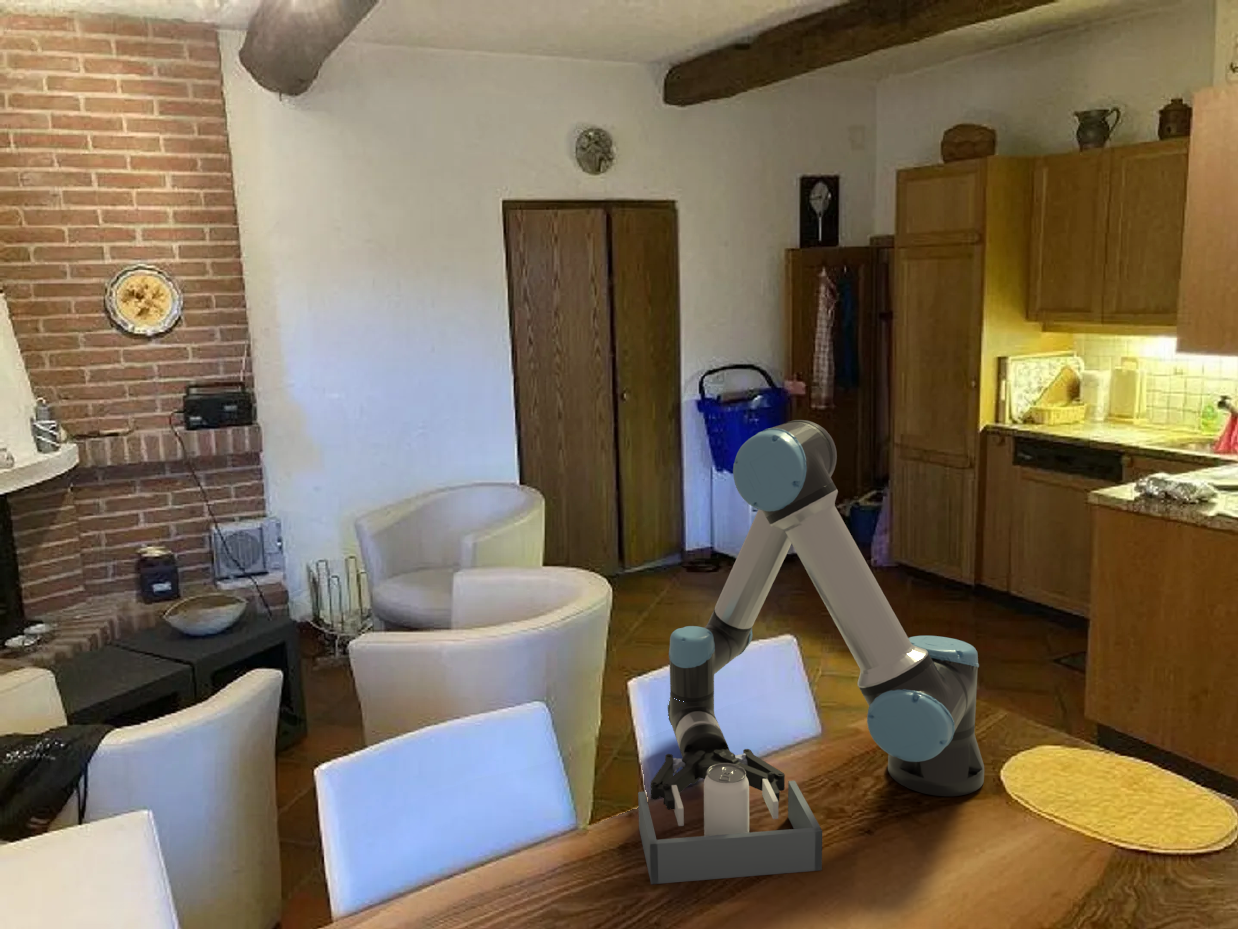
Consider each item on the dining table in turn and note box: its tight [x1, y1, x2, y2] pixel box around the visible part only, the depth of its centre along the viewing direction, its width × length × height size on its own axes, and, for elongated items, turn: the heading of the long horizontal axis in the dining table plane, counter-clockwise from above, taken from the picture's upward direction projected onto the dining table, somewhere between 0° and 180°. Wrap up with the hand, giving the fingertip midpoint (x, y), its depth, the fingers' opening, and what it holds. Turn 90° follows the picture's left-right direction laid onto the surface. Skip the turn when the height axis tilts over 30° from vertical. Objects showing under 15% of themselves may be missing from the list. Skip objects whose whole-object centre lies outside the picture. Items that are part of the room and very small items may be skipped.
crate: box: [637, 780, 823, 885], centre depth 142 cm, size 14×24×6 cm, turn 96°
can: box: [703, 763, 750, 836], centre depth 141 cm, size 6×6×12 cm
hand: (728, 814), depth 139 cm, fingers open, 13 cm apart
